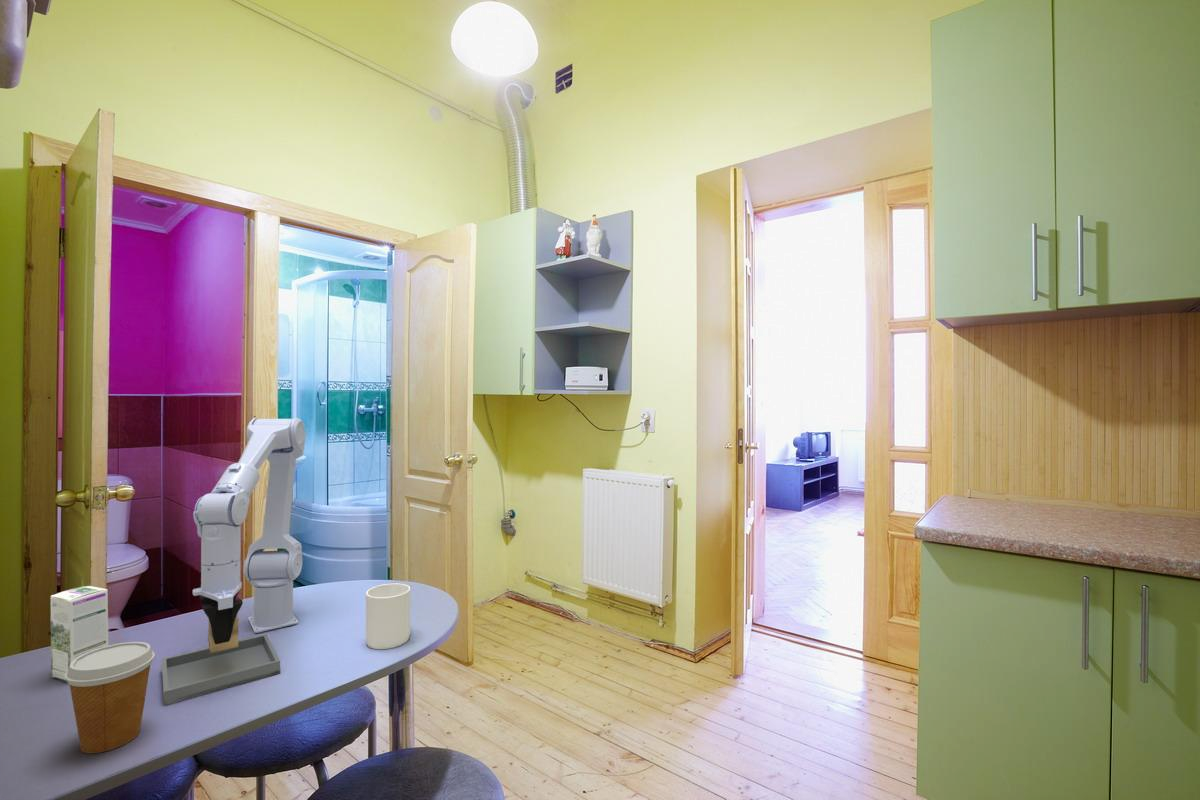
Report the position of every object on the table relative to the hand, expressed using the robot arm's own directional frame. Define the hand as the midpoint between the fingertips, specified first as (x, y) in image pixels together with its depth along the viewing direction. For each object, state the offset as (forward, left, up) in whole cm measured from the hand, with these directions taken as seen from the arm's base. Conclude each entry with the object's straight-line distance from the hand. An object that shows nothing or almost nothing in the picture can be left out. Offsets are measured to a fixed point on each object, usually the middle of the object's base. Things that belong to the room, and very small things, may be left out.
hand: (220, 637), depth 96 cm
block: (0, 0, -2) cm, 2 cm away
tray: (0, 0, -6) cm, 6 cm away
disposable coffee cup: (+13, -14, -6) cm, 20 cm away
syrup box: (-15, -19, -6) cm, 25 cm away
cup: (+4, +27, -6) cm, 28 cm away
